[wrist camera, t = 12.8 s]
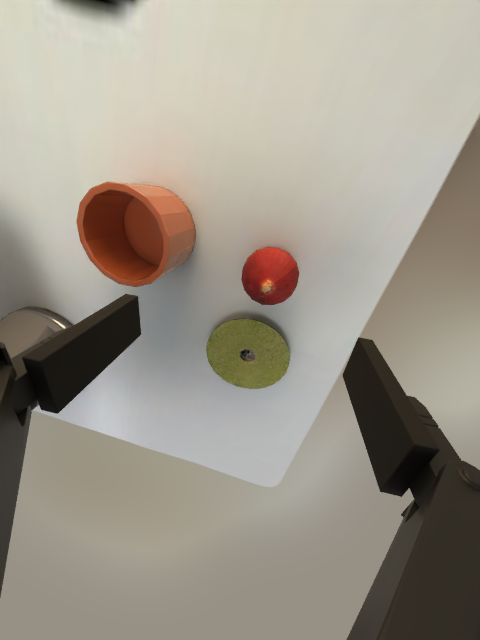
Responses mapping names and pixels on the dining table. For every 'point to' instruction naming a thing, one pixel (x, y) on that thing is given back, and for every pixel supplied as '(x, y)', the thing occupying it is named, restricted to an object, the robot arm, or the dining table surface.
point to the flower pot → (135, 231)
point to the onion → (270, 276)
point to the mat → (248, 353)
